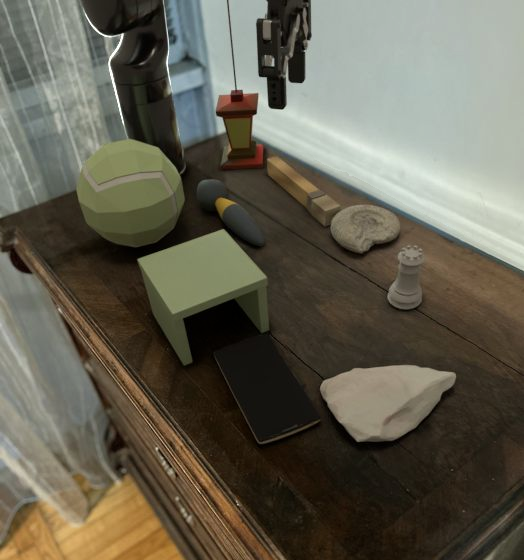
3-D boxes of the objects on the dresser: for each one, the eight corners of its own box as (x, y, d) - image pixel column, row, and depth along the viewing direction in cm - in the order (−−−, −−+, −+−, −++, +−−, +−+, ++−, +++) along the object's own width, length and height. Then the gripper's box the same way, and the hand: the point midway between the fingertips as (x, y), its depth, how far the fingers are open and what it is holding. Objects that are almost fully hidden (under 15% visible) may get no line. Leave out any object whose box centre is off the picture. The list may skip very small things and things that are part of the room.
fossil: (375, 242, 76) (314, 228, 81) (376, 264, 79) (316, 250, 84) (411, 203, 82) (352, 192, 87) (410, 225, 84) (353, 213, 90)
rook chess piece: (400, 285, 76) (407, 236, 70) (428, 299, 73) (438, 249, 67) (380, 301, 74) (386, 252, 68) (408, 316, 71) (416, 266, 65)
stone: (312, 360, 61) (435, 330, 64) (311, 385, 64) (428, 355, 67) (349, 435, 54) (485, 398, 56) (346, 459, 57) (476, 422, 59)
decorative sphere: (199, 251, 84) (183, 158, 73) (101, 275, 81) (70, 183, 71) (177, 203, 94) (160, 115, 83) (89, 223, 91) (60, 136, 81)
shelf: (151, 312, 75) (136, 258, 68) (230, 282, 78) (223, 228, 72) (185, 368, 67) (172, 314, 61) (271, 332, 71) (267, 277, 64)
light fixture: (263, 148, 106) (251, -39, 85) (262, 167, 101) (249, -27, 79) (224, 150, 107) (202, -35, 85) (221, 169, 101) (196, -23, 80)
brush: (265, 175, 99) (264, 159, 97) (279, 170, 100) (278, 155, 98) (324, 226, 86) (325, 210, 84) (339, 221, 87) (340, 204, 85)
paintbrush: (282, 241, 84) (281, 212, 81) (257, 254, 83) (254, 225, 79) (210, 192, 96) (206, 165, 92) (186, 203, 94) (181, 176, 90)
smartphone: (267, 331, 69) (322, 418, 59) (268, 337, 70) (322, 424, 60) (212, 350, 67) (259, 442, 58) (213, 356, 68) (260, 448, 58)
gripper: (298, -44, 54) (300, 120, 66) (333, -74, 63) (329, 75, 75) (227, -44, 56) (241, 115, 68) (270, -73, 65) (276, 72, 77)
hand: (287, 94), depth 71 cm, fingers open, 8 cm apart
